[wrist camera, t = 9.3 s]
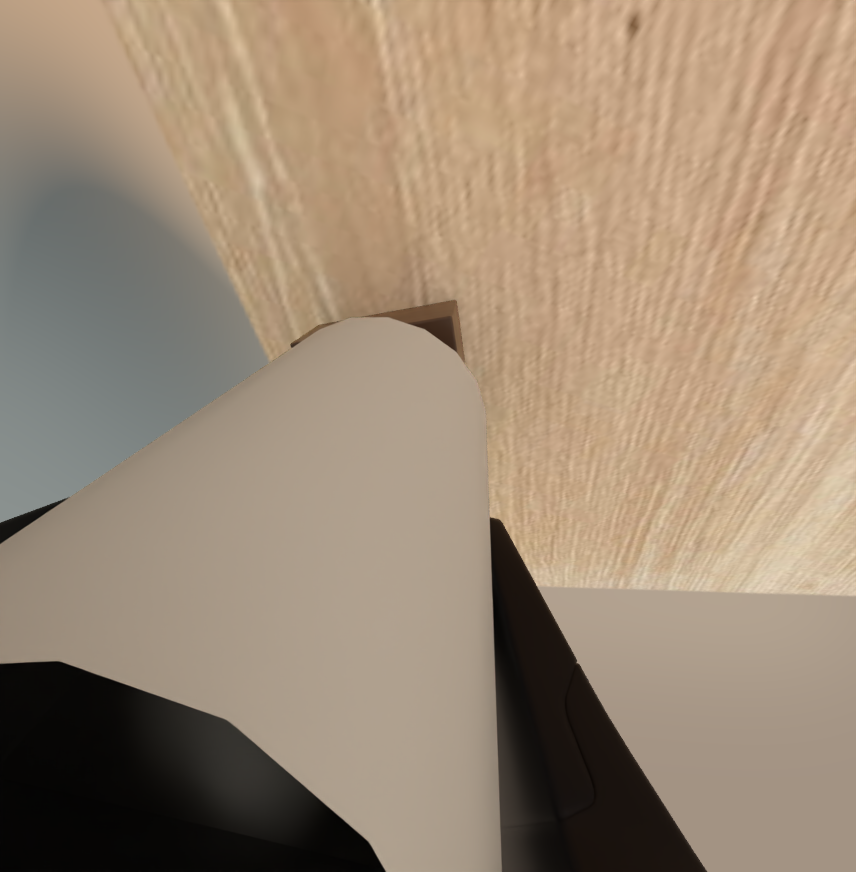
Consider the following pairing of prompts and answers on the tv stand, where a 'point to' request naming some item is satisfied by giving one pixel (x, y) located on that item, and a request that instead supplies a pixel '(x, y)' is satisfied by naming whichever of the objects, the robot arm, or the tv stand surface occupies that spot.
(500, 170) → the tv stand surface
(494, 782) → the can
